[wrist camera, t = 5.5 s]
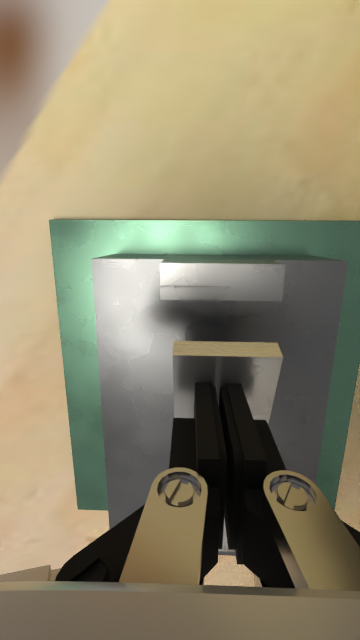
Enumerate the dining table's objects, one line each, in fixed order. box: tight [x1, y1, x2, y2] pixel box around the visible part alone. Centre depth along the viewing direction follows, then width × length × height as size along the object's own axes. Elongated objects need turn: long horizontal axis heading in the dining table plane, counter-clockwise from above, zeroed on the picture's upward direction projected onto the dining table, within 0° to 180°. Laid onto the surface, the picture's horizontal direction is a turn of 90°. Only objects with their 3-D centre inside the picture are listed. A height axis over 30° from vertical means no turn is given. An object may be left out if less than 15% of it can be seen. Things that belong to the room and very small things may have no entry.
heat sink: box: [49, 220, 360, 556], centre depth 18 cm, size 20×22×8 cm
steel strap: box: [173, 341, 283, 552], centre depth 14 cm, size 4×14×1 cm, turn 179°
